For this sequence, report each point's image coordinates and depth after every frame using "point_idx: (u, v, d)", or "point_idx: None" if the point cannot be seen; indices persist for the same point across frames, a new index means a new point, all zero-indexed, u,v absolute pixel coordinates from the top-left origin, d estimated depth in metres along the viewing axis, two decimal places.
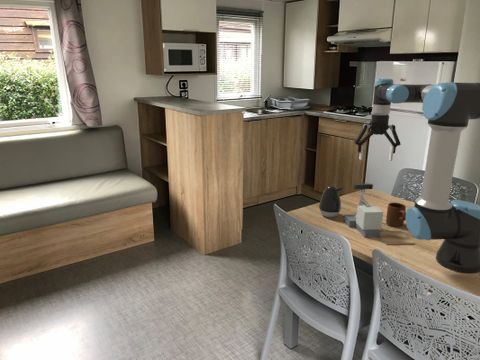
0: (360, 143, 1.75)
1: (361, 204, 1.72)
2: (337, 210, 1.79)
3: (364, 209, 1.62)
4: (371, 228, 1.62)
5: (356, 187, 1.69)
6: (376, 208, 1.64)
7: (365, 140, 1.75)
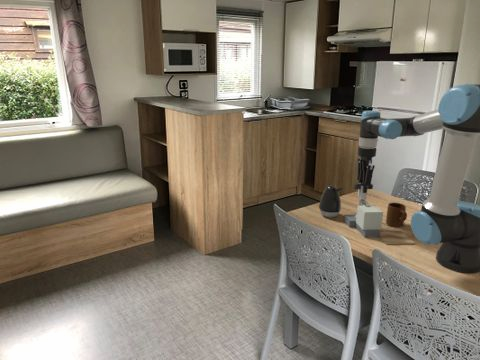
0: None
1: (361, 204, 1.72)
2: (337, 210, 1.79)
3: (364, 209, 1.62)
4: (371, 228, 1.62)
5: (356, 187, 1.69)
6: (376, 208, 1.64)
7: (360, 175, 1.71)
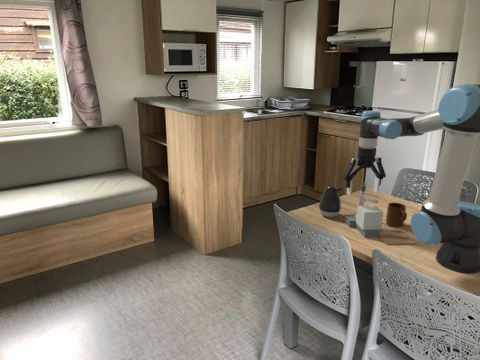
0: (349, 178, 1.66)
1: None
2: (337, 210, 1.79)
3: (364, 209, 1.62)
4: (371, 228, 1.62)
5: (365, 189, 1.67)
6: (376, 208, 1.64)
7: (354, 175, 1.66)
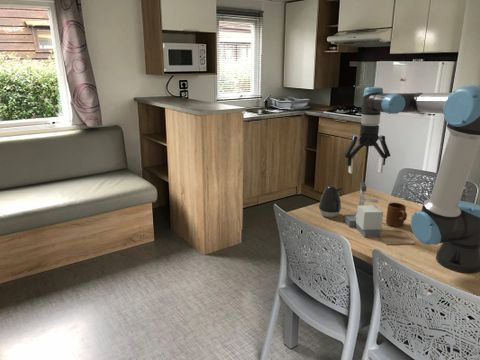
0: (350, 156, 1.64)
1: None
2: (337, 210, 1.79)
3: (364, 209, 1.62)
4: (371, 228, 1.62)
5: None
6: (376, 208, 1.64)
7: (355, 152, 1.64)
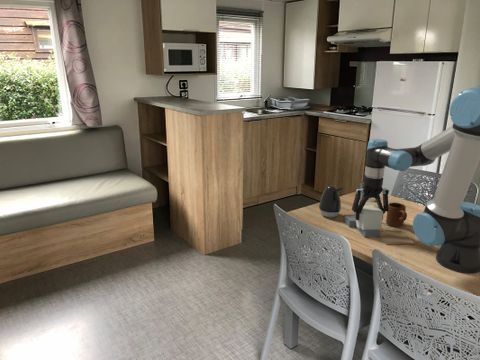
0: (358, 211, 1.62)
1: None
2: (337, 210, 1.79)
3: (364, 209, 1.62)
4: (371, 228, 1.62)
5: None
6: (376, 208, 1.64)
7: (362, 206, 1.61)
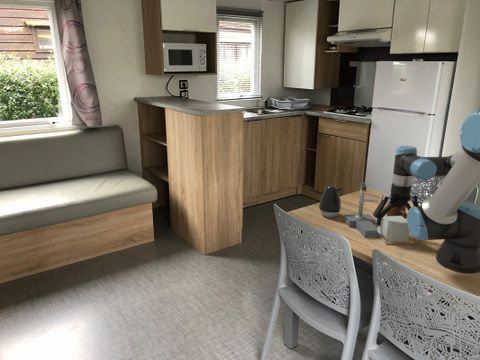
0: (380, 216, 1.56)
1: None
2: (337, 210, 1.79)
3: (390, 220, 1.58)
4: (398, 240, 1.57)
5: None
6: (403, 219, 1.59)
7: (385, 213, 1.56)
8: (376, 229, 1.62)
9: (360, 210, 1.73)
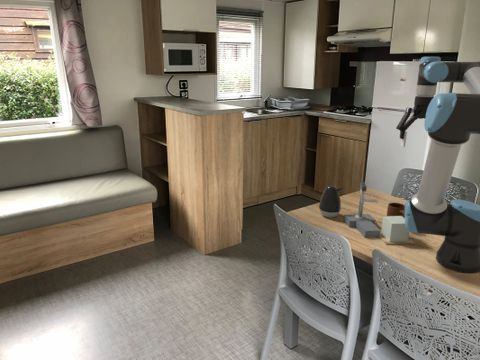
0: (404, 128, 1.60)
1: None
2: (337, 210, 1.79)
3: (390, 220, 1.58)
4: (398, 240, 1.57)
5: None
6: (403, 219, 1.59)
7: (409, 125, 1.60)
8: (376, 229, 1.62)
9: (360, 210, 1.73)
